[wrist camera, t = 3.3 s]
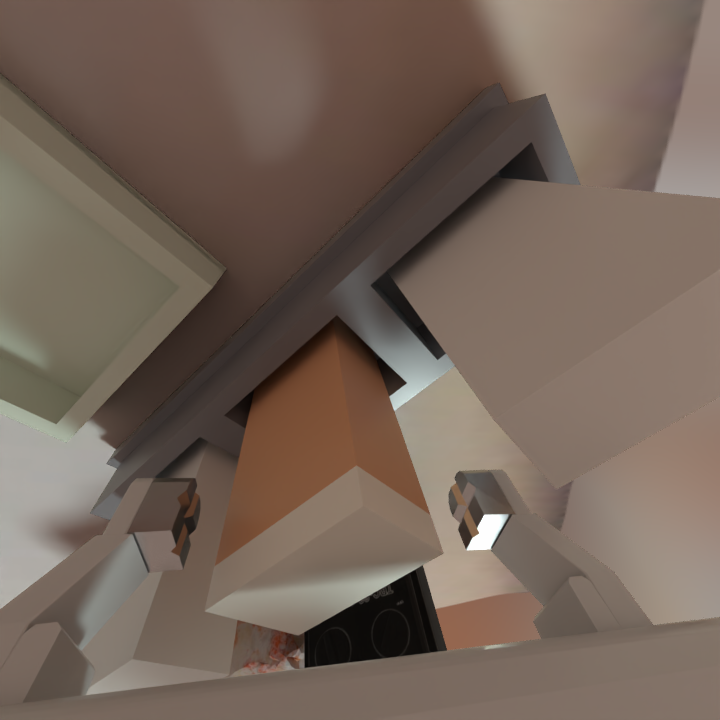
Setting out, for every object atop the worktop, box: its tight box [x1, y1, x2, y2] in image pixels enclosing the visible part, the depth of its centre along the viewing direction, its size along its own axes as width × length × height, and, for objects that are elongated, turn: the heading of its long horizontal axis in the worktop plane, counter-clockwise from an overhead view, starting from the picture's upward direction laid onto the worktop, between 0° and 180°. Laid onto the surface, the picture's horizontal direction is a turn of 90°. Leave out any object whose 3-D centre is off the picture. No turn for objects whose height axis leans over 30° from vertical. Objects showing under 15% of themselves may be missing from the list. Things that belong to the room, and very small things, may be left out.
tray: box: [0, 73, 227, 443], centre depth 12 cm, size 11×11×2 cm
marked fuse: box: [204, 315, 443, 635], centre depth 12 cm, size 5×3×10 cm, turn 131°
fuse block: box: [82, 83, 720, 695], centre depth 12 cm, size 25×7×11 cm, turn 131°
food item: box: [224, 620, 304, 678], centre depth 22 cm, size 14×8×10 cm, turn 106°
